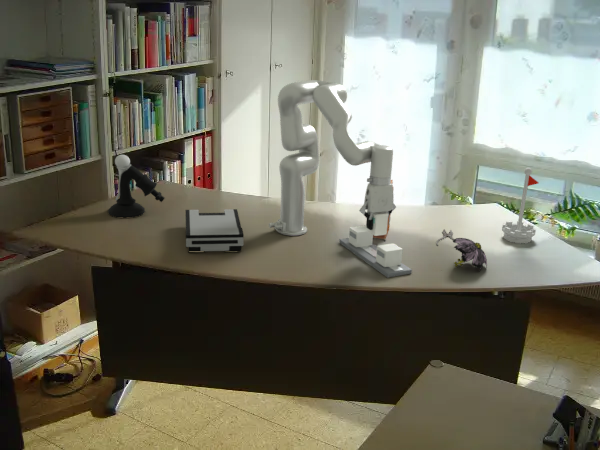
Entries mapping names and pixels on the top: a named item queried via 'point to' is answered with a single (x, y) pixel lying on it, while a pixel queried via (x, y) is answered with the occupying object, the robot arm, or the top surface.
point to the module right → (389, 255)
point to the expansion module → (379, 224)
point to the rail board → (374, 260)
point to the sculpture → (126, 202)
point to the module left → (360, 236)
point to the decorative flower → (470, 252)
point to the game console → (213, 231)
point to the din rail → (373, 253)
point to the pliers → (446, 236)
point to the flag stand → (520, 231)
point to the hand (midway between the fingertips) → (376, 227)
